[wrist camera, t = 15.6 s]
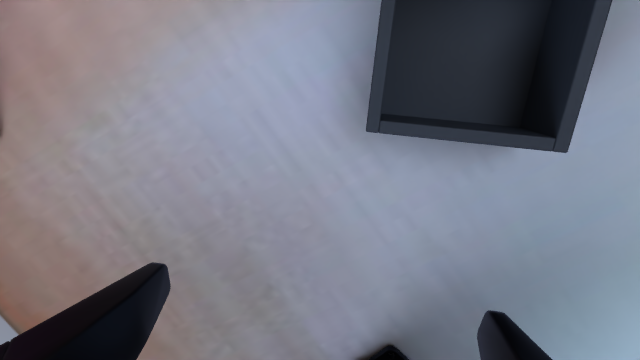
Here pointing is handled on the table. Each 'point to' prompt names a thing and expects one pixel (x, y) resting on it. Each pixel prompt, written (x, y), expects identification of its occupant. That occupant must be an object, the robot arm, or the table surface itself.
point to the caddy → (484, 69)
